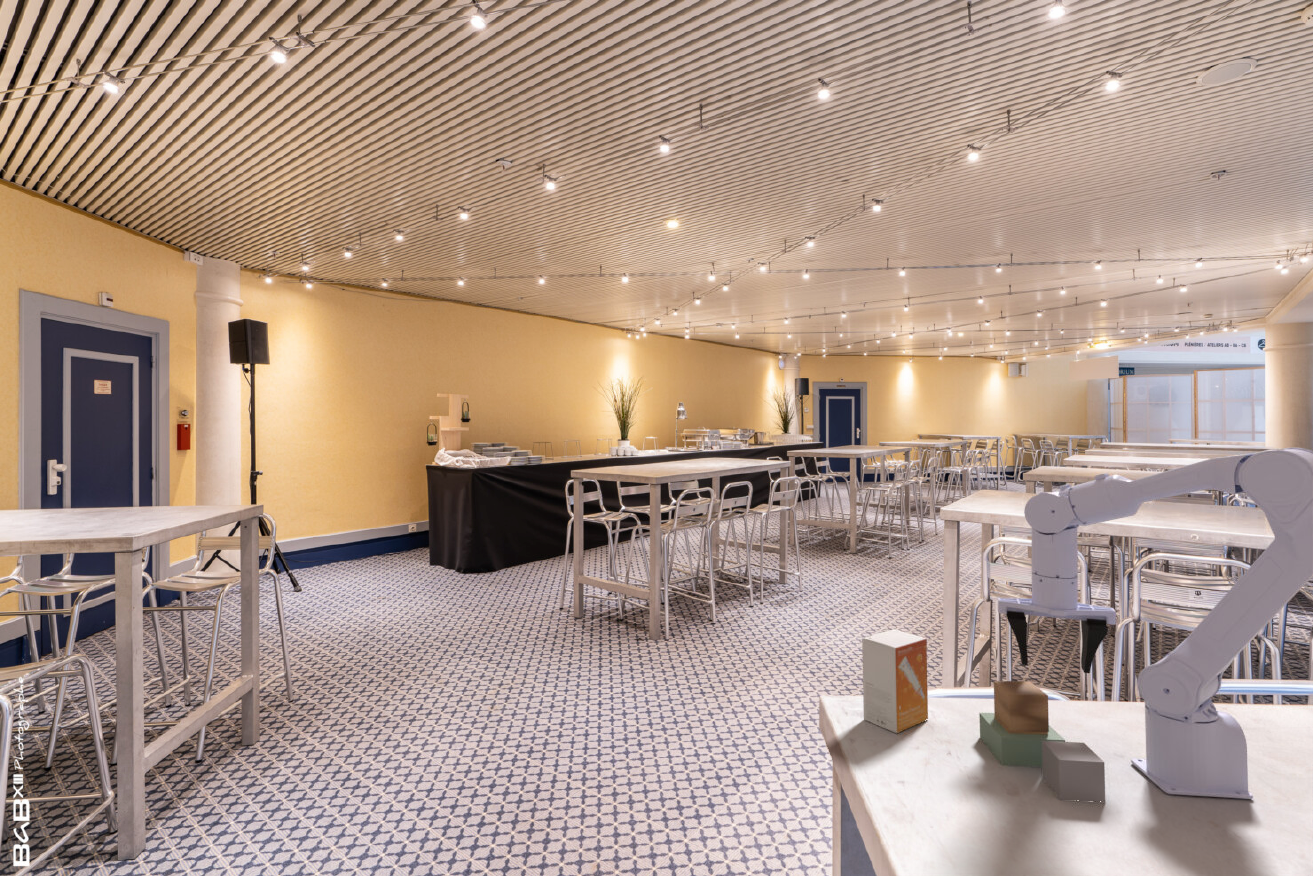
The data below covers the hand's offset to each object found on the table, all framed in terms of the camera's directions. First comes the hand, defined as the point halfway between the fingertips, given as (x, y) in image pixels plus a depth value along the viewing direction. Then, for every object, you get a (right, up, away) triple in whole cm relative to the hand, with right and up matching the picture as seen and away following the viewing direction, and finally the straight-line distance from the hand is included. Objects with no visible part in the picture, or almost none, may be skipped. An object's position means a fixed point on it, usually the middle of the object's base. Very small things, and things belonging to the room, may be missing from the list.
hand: (1054, 666), depth 93 cm
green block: (-7, -11, -4) cm, 14 cm away
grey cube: (-6, -11, -14) cm, 18 cm away
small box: (-20, -11, +7) cm, 24 cm away
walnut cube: (-7, -7, -4) cm, 10 cm away
